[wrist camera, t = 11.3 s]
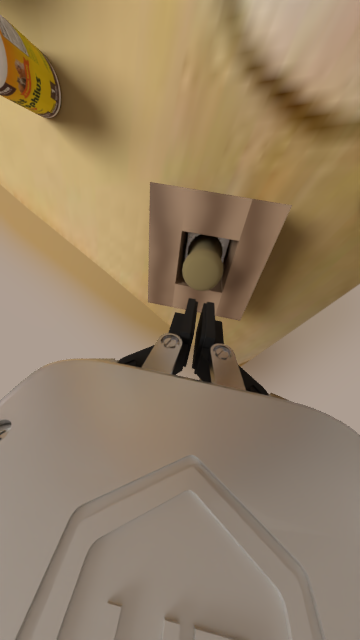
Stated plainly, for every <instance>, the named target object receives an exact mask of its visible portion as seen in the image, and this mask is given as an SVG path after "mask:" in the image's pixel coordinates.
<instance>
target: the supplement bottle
mask: <svg viewBox="0 0 360 640" xmlns="http://www.w3.org/2000/svg"><path fill="white" fill-rule="evenodd" d="M0 95H1V96H3V97H5V98H7V99H9V100H11V101H13V102H15V103H17V104H19V105H20V106H22V107H24V108H26V109H28V110H30V111H32V112H34V113H36V114H38V115H40V116H42V117H45V118H51V117H54V116H55V115H56V114H57V113H58V111H59V109H60V105H61V92H60V86H59V82H58V79H57V76H56V74H55V71H54V69H53V67H52V66H51V64H50V62H49V61H48V59H47V58H46V57H45V55H44V54H43V53H42V52H41V51H40V50H39V49H38V48H37V47H36V46H35V45H33V44H32V43H31V42H30V41H29V40H28V39H27V38H26V37H25V36H24V35H22V34H21V33H20V32H19V31H18V30H17V29H16V28H15V27H14V26H13V25H11V24H10V23H9V22H8V21H7V20H6V19H5V18H4V17H2V16H1V15H0Z"/></svg>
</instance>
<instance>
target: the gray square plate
mask: <svg viewBox="0 0 360 640" xmlns="http://www.w3.org/2000/svg"><path fill="white" fill-rule="evenodd" d="M198 235H200V234H197V233H191V232H189V234H188V240H187V247H186V254H185V259H186V258H187V256H188V247H189V245H190V243H191V241H192V240H193V239H194V238H195V237H196V236H198ZM217 238H218V239H219V241H220V242H221V245H222V247H223V254H222V257H221V261H222V263H223V260H224V257H225V254H226V250H227V247H228V243H229V240H230V239H225V238H219V237H217Z"/></svg>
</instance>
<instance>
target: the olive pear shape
mask: <svg viewBox="0 0 360 640" xmlns="http://www.w3.org/2000/svg"><path fill="white" fill-rule="evenodd" d="M222 254H223V247H222V245H221V242H220V241H219V239H218V238H217V237H214V236H208V235H203V234H200V235H198V236H196V237H195V238H194V239H193V240H192V241H191V243H190V245H189V247H188V256H187V258H186V259H185V261H184V263H183V268H182V273H183V278H184V280H185V282H186V283H187V284H188V285H189V286H190V287H191V288H193V289H195V290H199V291H207V290H209V289H212V288H213V287H215V286H216V285H217V284H218V283H219V281H220V280H221V278H222V275H223V263H222V261H221V257H222Z"/></svg>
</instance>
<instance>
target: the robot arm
mask: <svg viewBox="0 0 360 640" xmlns="http://www.w3.org/2000/svg"><path fill="white" fill-rule="evenodd" d="M197 307H198V302H197V301H196V299H192V298H189V299H188V303H187V307H186V311H185V314H181V313H176V312H175V315H174V318H173V321H172V324H171V327H170V330H169V333H167V334H163V335H161V336H160V337H159V339H158V340H157V342H156V344H155V345H153V346H151V347H149V348H146V349H143V350H141V351H138V352H136V353H133V354H131V355H128V356H126V357H124V358H122V359H120V360H117V361H116V360H115V359H67V360H60V361H56V362H52V363H49V364H47V365H45V366H43V367H41V368H39V369H38V370H36V371H34V372H33V373H32V374H30V375H29V376H28V377H27V378H25V379H24V380H23V381H22V382H20V383H19V384H18V385H17V386H16V387H15V388H13V389H12V390H11V391H10V392H9V393H8V394H7V395H6V396H4V397H3V398H2V399H1V400H0V640H360V435H359V434H357V432H355V431H354V430H353V429H352V428H350V427H349V426H347V425H346V424H344V423H343V422H341V421H339V420H337V419H335V418H334V417H332V416H330V415H328V414H326V413H323V412H321V411H319V410H316V409H314V408H311V407H308V406H305V405H302V404H298V403H294V402H291V401H289V400H287V399H284V398H282V397H280V396H278V395H275V394H273V393H270V394H268V393H267V391H266V390H265V389H264V388H263V387H262V386H261V385H260V384H259V383H257V381H255V380H254V379H253V378H252V377H251V376H250V375H249V374H248V373H247V372H245V371H244V370H243V369H242V368H241V367H240V366H239V365H238V363H237V360H236V357H235V354H234V352H233V350H232V349H231V348H230V347H228V346H227V345H224V341H223V329H222V322H221V321H216V320H215V305H214V303H212V302H207V303H204V304H203V308H202V312H201V315H200V319H199V323H198V327H197V331H196V338H195V346H194V355H193V364H192V368H193V369H195V372H194V373H195V374H197V375H198V376H199V378H200V380H195V379H191V378H186V377H181V376H177V375H176V374H177V373H179V372H180V371H182V369H183V366H184V367H186V364H187V360H188V356H189V352H190V348H191V344H192V340H193V336H194V330H195V322H196V315H197Z"/></svg>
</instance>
